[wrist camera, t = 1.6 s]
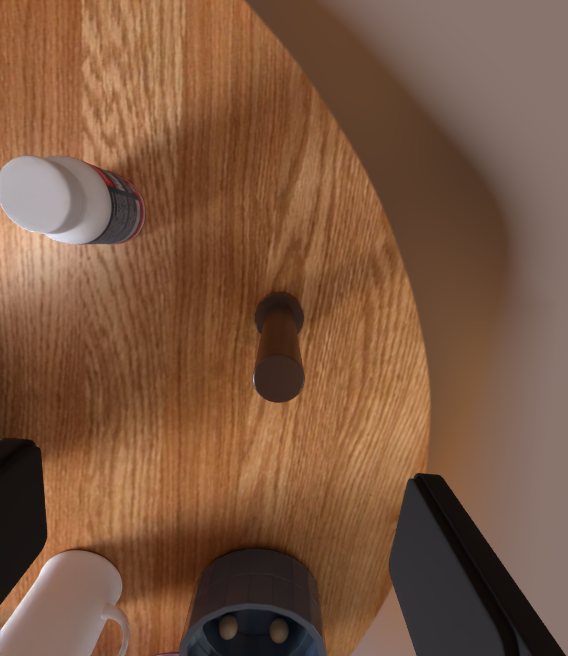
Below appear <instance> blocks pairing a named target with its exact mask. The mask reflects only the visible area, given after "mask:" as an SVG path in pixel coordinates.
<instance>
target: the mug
mask: <svg viewBox="0 0 568 656" xmlns="http://www.w3.org/2000/svg"><path fill="white" fill-rule="evenodd" d="M121 593H122V579H121V576H120V574H119V572H118V570H117V569H116V568H115V566H114V565H113V564H112V563H111V562H109V561H108V560H107V559H105V558H104V557H102V556H100V555H98V554H95V553H92V552H88V551H81V550H72V551H66V552H62V553H59V554H57V555H55V556H54V557H52V558H51V559H49V560H48V561H47V562H46V564H45V565H44V566H43V568H42V570H41V572H40V574H39V576H38V578H37V580H36V581H35V583H34V584H33V586H32V587H31V588H30V590H29V591H28V593H27V594H26V596H25V597H24V598H23V600H22V601H21V603H20V604H19V605H18V607H17V608H16V610H15V611H14V612H13V614H12V615H11V616H10V618H9V619H8V621H7V622H6V623H5V625H4V626H3V628H2V629H1V630H0V656H91V654H92V652H93V649H94V647H95V645H96V643H97V641H98V638H99V636H100V634H101V632H102V630H103V627H104V625H105V623H106V621H107V619H113V620H115V621H117V622H118V623H119V624H120V626H121V628H122V631H123V640H122V645H121V648H120V650H119V653H118V655H117V656H125V653H126V650H127V647H128V642H129V634H130V630H129V623H128V619H127V617H126V615H125V613H124V612H123V611H122V610H121V609H120V608H118V607H117V606H115V604H116V603H117V601H118V600H119V598H120V596H121Z"/></svg>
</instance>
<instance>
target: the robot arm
mask: <svg viewBox="0 0 568 656" xmlns="http://www.w3.org/2000/svg"><path fill="white" fill-rule="evenodd" d="M46 539H47V522H46V509H45V496H44V483H43V470H42V457H41V450H40V448H39V447H36V445H35V443H34V441H32V440H28V439H16V438H4V439H2V440H0V605H1V603H2V602H3V601H4V599H5V598H6V597H7V595H8V594H9V593H10V592H11V590H12V589H13V588H14V586H15V585H16V584H17V582H18V581H19V580H20V578H21V577H22V576H23V575H24V573H25V572H26V571H27V569H28V568H29V567H30V565H31V564H32V563H33V561H34V560H35V559H36V557H37V556H38V555H39V554H40V552H41V551H42V549H43V547H44V545H45V542H46ZM389 572H390V577H391V580H392V583H393V586H394V589H395V592H396V595H397V598H398V601H399V604H400V607H401V610H402V613H403V616H404V619H405V622H406V625H407V628H408V631H409V634H410V637H411V640H412V643H413V646H414V649H415V652H416V655H417V656H566V655H565V654H564V653H563V651H562V649H561V648H560V647H559V645H558V644H557V642H556V641H555V639H554V638H553V636H552V635H551V633H550V632H549V631H548V629H547V628H546V626H545V625H544V623H543V622H542V620H541V619H540V618H539V616H538V615H537V613H536V612H535V610H534V609H533V607H532V606H531V605H530V603H529V602H528V600H527V599H526V597H525V596H524V594H523V593H522V592H521V590H520V589H519V587H518V586H517V584H516V583H515V582H514V580H513V579H512V577H511V576H510V574H509V573H508V571H507V570H506V568H505V567H504V565H503V564H502V563H501V561H500V560H499V558H498V557H497V555H496V554H495V553H494V551H493V550H492V548H491V547H490V545H489V544H488V543H487V541H486V539H485V538H484V537H483V535H482V534H481V532H480V531H479V529H478V528H477V526H476V525H475V524H474V522H473V521H472V519H471V518H470V516H469V515H468V513H467V512H466V511H465V509H464V508H463V506H462V505H461V504H460V502H459V501H458V499H457V498H456V496H455V495H454V493H453V492H452V490H451V489H450V487H449V486H448V485H447V483H446V482H445V480H444V479H443V478H442V477H441V476H440V475H433V474H422V473H417V474H416V475H415V476H414V479H409V480H408V482H407V486H406V490H405V494H404V498H403V503H402V507H401V511H400V516H399V520H398V524H397V528H396V533H395V537H394V541H393V545H392V550H391V554H390V558H389Z"/></svg>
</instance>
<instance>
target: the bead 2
mask: <svg viewBox="0 0 568 656" xmlns="http://www.w3.org/2000/svg"><path fill="white" fill-rule="evenodd" d="M288 632H289V630H288V625H287V623H286V621H285V620H283V619H281V618H277V619H275V620H274V621H273V622H272V624H271V626H270V636H271V638H272V640H273V641H274V642H275V643H283V642H284V641H285V640H286V639H287V636H288Z"/></svg>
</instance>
